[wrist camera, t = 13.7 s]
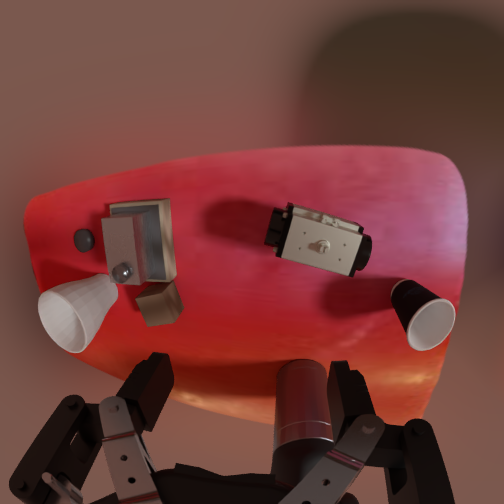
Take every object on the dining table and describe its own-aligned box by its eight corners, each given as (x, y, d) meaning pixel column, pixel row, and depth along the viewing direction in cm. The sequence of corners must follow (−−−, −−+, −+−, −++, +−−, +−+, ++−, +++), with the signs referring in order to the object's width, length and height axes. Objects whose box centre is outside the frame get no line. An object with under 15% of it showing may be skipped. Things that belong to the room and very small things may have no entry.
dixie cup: (404, 260, 38) (438, 287, 28) (430, 287, 39) (463, 318, 28) (372, 297, 40) (396, 335, 30) (400, 321, 41) (425, 359, 31)
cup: (123, 262, 43) (75, 294, 30) (133, 317, 46) (95, 359, 33) (79, 260, 44) (30, 287, 31) (90, 310, 47) (49, 345, 34)
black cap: (89, 254, 43) (84, 257, 42) (76, 240, 43) (71, 242, 41) (98, 238, 42) (93, 240, 41) (84, 223, 42) (79, 225, 40)
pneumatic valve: (343, 252, 39) (367, 284, 27) (266, 230, 39) (261, 256, 28) (355, 216, 37) (385, 236, 26) (276, 193, 37) (275, 202, 26)
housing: (120, 212, 37) (96, 220, 31) (149, 211, 36) (128, 218, 31) (127, 270, 39) (106, 285, 34) (155, 272, 39) (137, 288, 33)
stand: (176, 275, 42) (169, 283, 39) (128, 273, 43) (118, 280, 40) (169, 198, 39) (160, 200, 36) (119, 202, 40) (108, 205, 37)
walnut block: (184, 307, 44) (174, 322, 39) (159, 312, 45) (147, 326, 40) (173, 280, 43) (161, 293, 38) (148, 286, 44) (135, 298, 39)
